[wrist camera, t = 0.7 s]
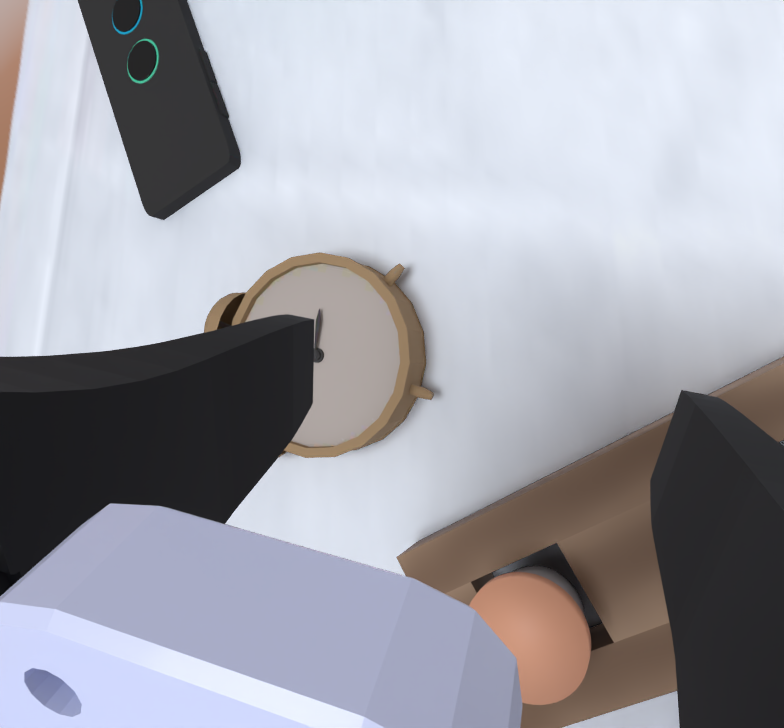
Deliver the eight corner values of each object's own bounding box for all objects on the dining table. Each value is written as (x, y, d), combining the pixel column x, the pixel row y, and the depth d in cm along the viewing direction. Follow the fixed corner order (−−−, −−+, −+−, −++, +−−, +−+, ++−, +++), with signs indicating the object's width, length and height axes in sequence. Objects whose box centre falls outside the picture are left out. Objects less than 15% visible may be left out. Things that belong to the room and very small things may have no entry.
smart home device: (142, -102, 39) (233, 157, 36) (162, -84, 41) (250, 165, 38) (67, -23, 43) (144, 220, 40) (88, -10, 44) (164, 225, 41)
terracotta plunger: (621, 642, 26) (615, 682, 23) (521, 679, 28) (502, 720, 25) (559, 535, 27) (545, 558, 24) (467, 577, 29) (442, 604, 26)
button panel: (989, 552, 23) (1030, 577, 20) (507, 716, 31) (493, 749, 28) (828, 334, 25) (847, 331, 22) (417, 541, 33) (396, 557, 30)
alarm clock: (437, 435, 29) (183, 489, 33) (453, 427, 34) (229, 476, 38) (388, 223, 30) (147, 299, 34) (410, 244, 35) (196, 309, 39)
